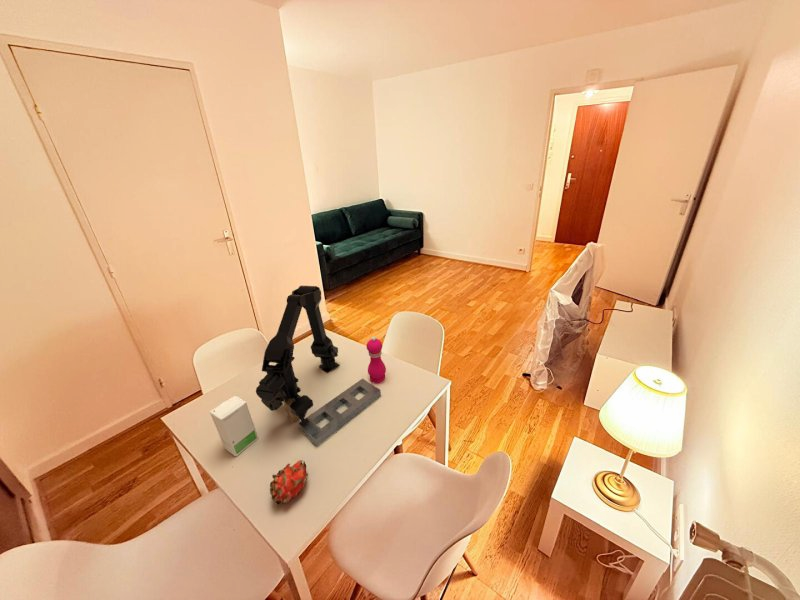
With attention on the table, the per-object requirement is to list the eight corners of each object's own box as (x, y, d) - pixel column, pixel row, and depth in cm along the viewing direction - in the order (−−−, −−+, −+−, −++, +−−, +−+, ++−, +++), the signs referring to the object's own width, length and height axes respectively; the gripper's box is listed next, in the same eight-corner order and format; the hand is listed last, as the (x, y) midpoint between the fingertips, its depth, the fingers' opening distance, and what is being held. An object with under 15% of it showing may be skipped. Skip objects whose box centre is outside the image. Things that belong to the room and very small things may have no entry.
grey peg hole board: (300, 429, 99) (298, 423, 98) (363, 384, 117) (362, 378, 116) (317, 446, 93) (315, 439, 92) (381, 396, 111) (380, 389, 110)
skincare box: (235, 457, 91) (219, 421, 84) (223, 448, 94) (207, 412, 87) (259, 437, 97) (247, 401, 90) (247, 429, 100) (234, 394, 94)
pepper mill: (387, 372, 123) (384, 331, 114) (385, 385, 117) (381, 342, 108) (370, 372, 124) (365, 331, 115) (367, 384, 117) (361, 342, 109)
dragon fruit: (272, 515, 77) (305, 479, 87) (290, 513, 72) (322, 475, 83) (255, 487, 77) (290, 454, 87) (272, 483, 72) (307, 449, 83)
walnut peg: (288, 417, 104) (283, 400, 101) (298, 410, 107) (293, 393, 103) (294, 423, 102) (289, 406, 98) (304, 416, 104) (299, 399, 101)
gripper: (248, 379, 97) (260, 414, 104) (276, 406, 86) (287, 443, 92) (280, 362, 104) (289, 396, 111) (309, 385, 93) (318, 421, 100)
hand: (295, 413), depth 103 cm, fingers open, 9 cm apart
